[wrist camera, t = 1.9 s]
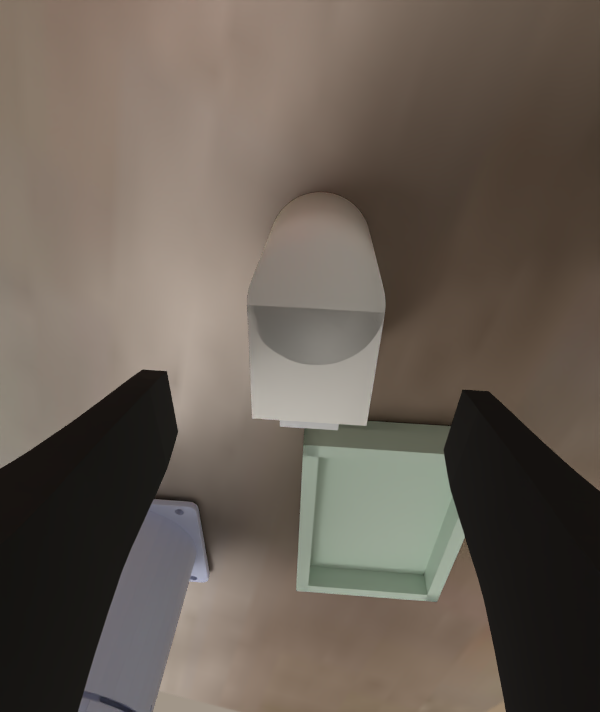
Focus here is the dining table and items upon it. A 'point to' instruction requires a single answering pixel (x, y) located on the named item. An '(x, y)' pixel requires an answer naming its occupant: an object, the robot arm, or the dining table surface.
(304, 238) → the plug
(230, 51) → the dining table surface
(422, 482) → the tray
